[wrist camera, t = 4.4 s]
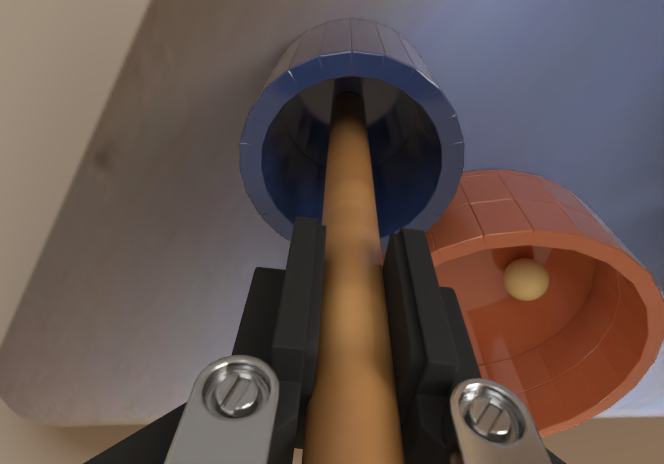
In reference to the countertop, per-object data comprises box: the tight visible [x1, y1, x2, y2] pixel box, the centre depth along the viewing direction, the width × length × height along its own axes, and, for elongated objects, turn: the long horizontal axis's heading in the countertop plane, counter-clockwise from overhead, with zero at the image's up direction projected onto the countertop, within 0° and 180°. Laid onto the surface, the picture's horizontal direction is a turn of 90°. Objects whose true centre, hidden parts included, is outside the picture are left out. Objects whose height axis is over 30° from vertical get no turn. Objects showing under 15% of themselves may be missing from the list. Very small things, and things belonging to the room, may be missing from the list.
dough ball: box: [503, 258, 549, 301], centre depth 25 cm, size 2×2×2 cm
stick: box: [302, 93, 405, 464], centre depth 14 cm, size 2×2×18 cm
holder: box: [240, 18, 464, 254], centre depth 19 cm, size 8×8×7 cm
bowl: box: [381, 169, 664, 438], centre depth 25 cm, size 16×16×6 cm
